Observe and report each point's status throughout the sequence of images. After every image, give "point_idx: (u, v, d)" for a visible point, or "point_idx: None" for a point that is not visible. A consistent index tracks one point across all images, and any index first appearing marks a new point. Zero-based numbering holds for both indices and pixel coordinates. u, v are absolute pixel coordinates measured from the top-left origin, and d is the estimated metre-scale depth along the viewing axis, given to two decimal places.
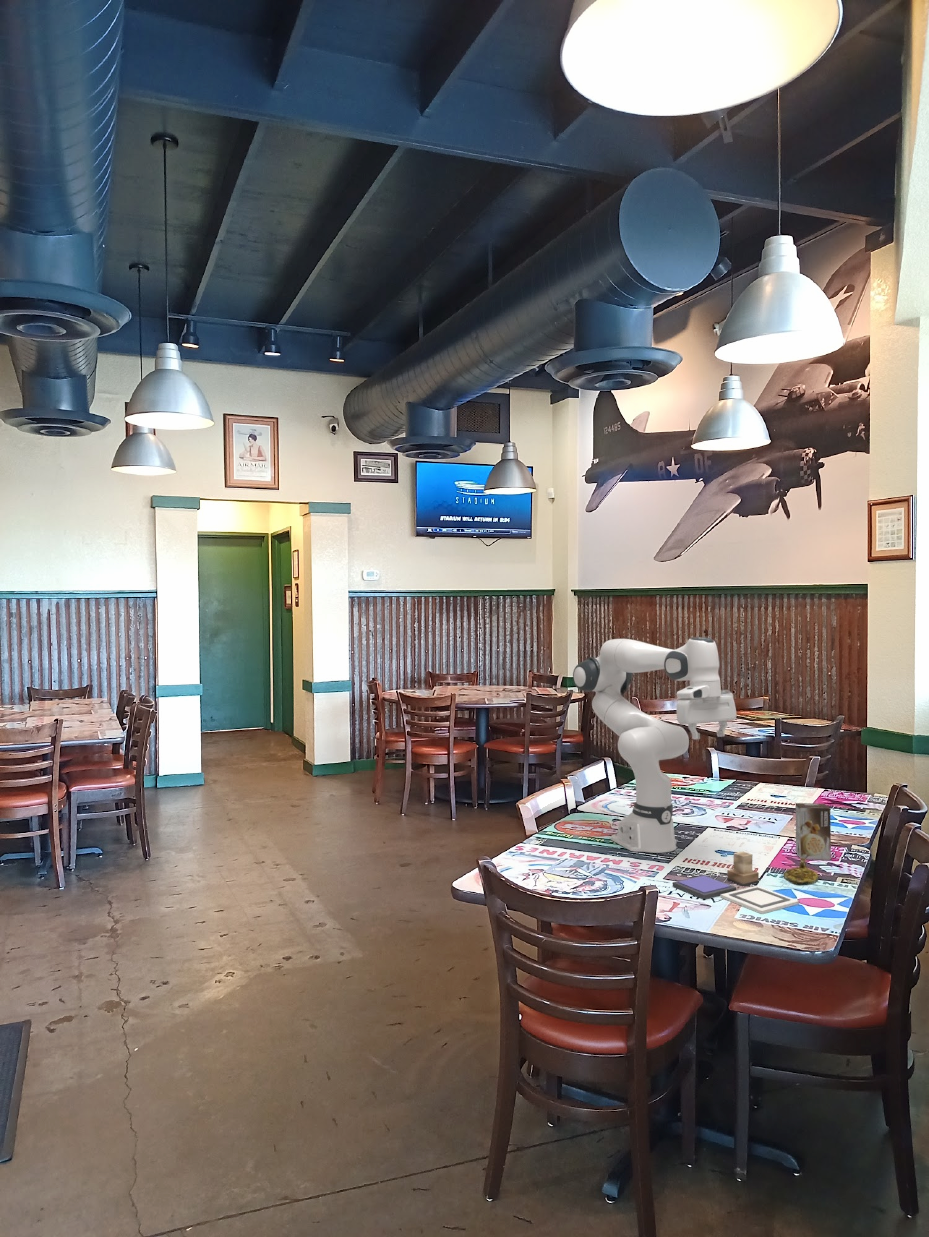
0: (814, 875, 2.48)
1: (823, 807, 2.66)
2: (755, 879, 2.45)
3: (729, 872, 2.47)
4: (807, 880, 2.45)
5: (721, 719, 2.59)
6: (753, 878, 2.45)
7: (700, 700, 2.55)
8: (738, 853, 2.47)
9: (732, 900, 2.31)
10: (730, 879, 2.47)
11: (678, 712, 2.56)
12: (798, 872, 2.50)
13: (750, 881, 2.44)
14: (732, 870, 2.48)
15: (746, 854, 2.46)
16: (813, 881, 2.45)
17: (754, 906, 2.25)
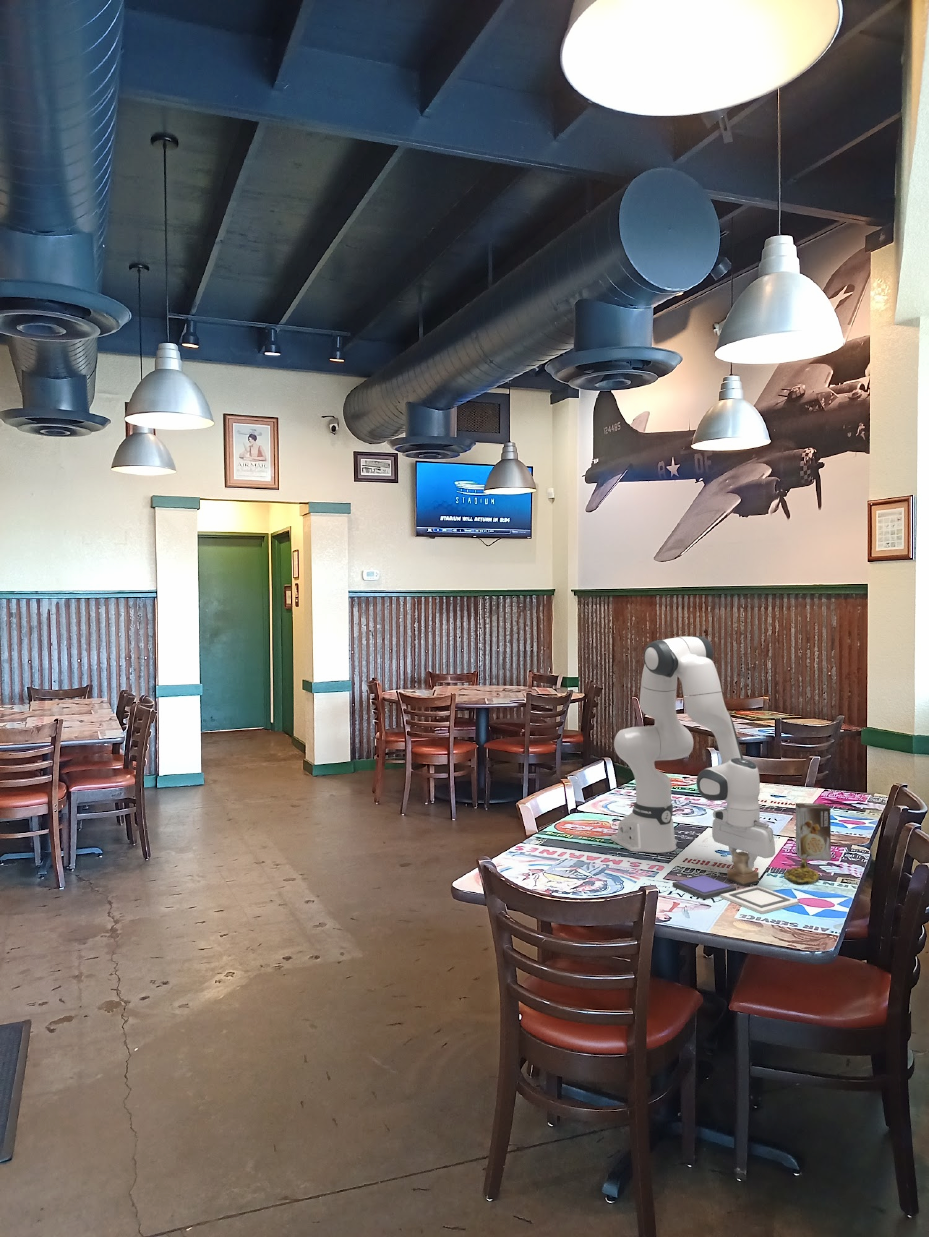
0: (815, 875, 2.48)
1: (823, 807, 2.66)
2: (755, 879, 2.45)
3: (729, 872, 2.47)
4: (807, 879, 2.45)
5: (748, 851, 2.42)
6: (753, 878, 2.45)
7: (723, 823, 2.49)
8: (738, 853, 2.47)
9: (732, 900, 2.31)
10: (730, 879, 2.47)
11: None
12: (799, 872, 2.50)
13: (750, 881, 2.44)
14: (732, 870, 2.48)
15: (746, 854, 2.46)
16: (813, 881, 2.45)
17: (754, 906, 2.25)
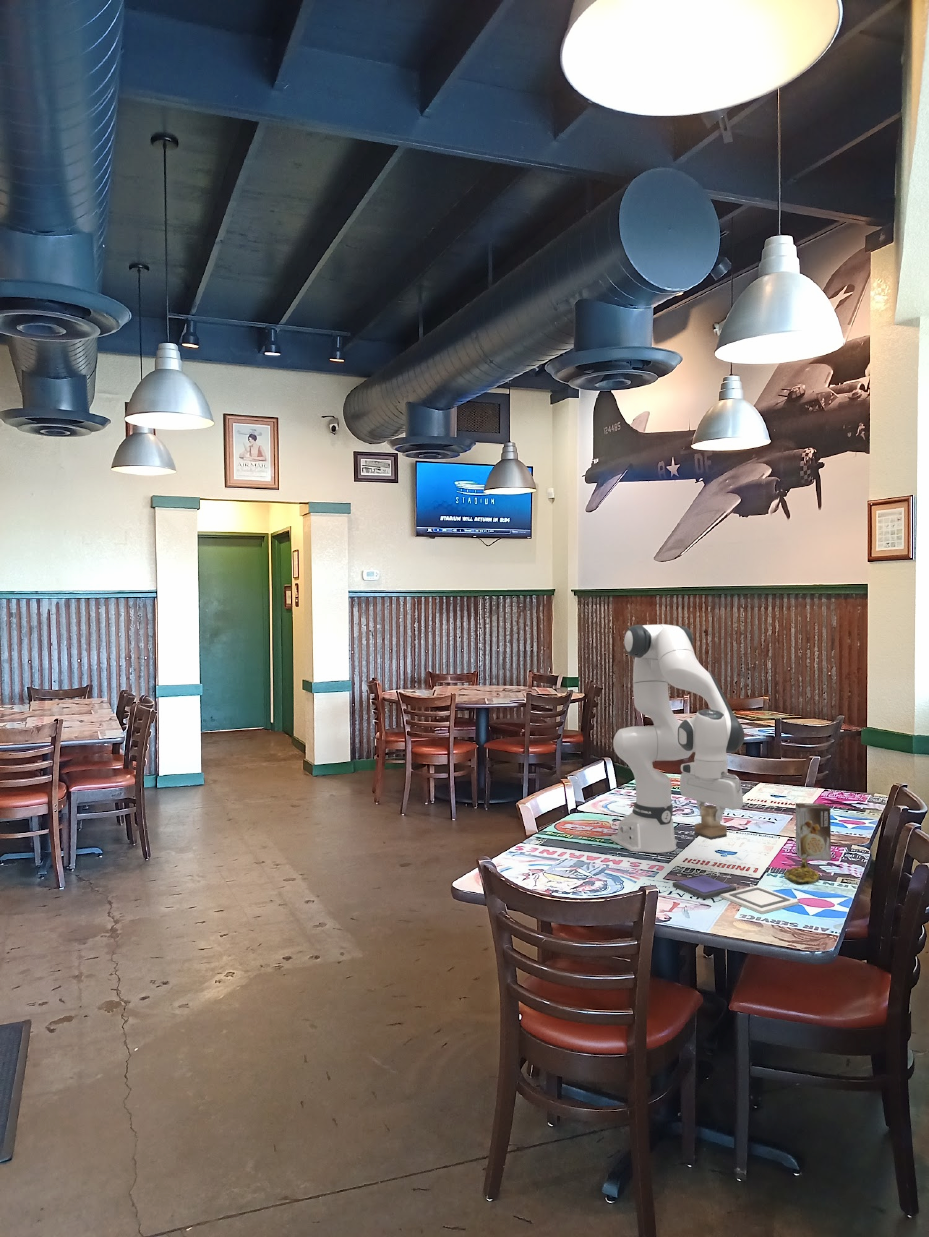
0: (815, 875, 2.48)
1: (823, 807, 2.66)
2: (723, 832, 2.39)
3: (697, 826, 2.41)
4: (808, 879, 2.46)
5: (716, 803, 2.37)
6: (720, 831, 2.39)
7: (691, 776, 2.43)
8: (706, 806, 2.41)
9: (732, 900, 2.31)
10: (698, 833, 2.41)
11: None
12: (799, 871, 2.50)
13: (718, 834, 2.38)
14: (700, 824, 2.42)
15: (714, 807, 2.40)
16: (814, 881, 2.45)
17: (754, 906, 2.25)
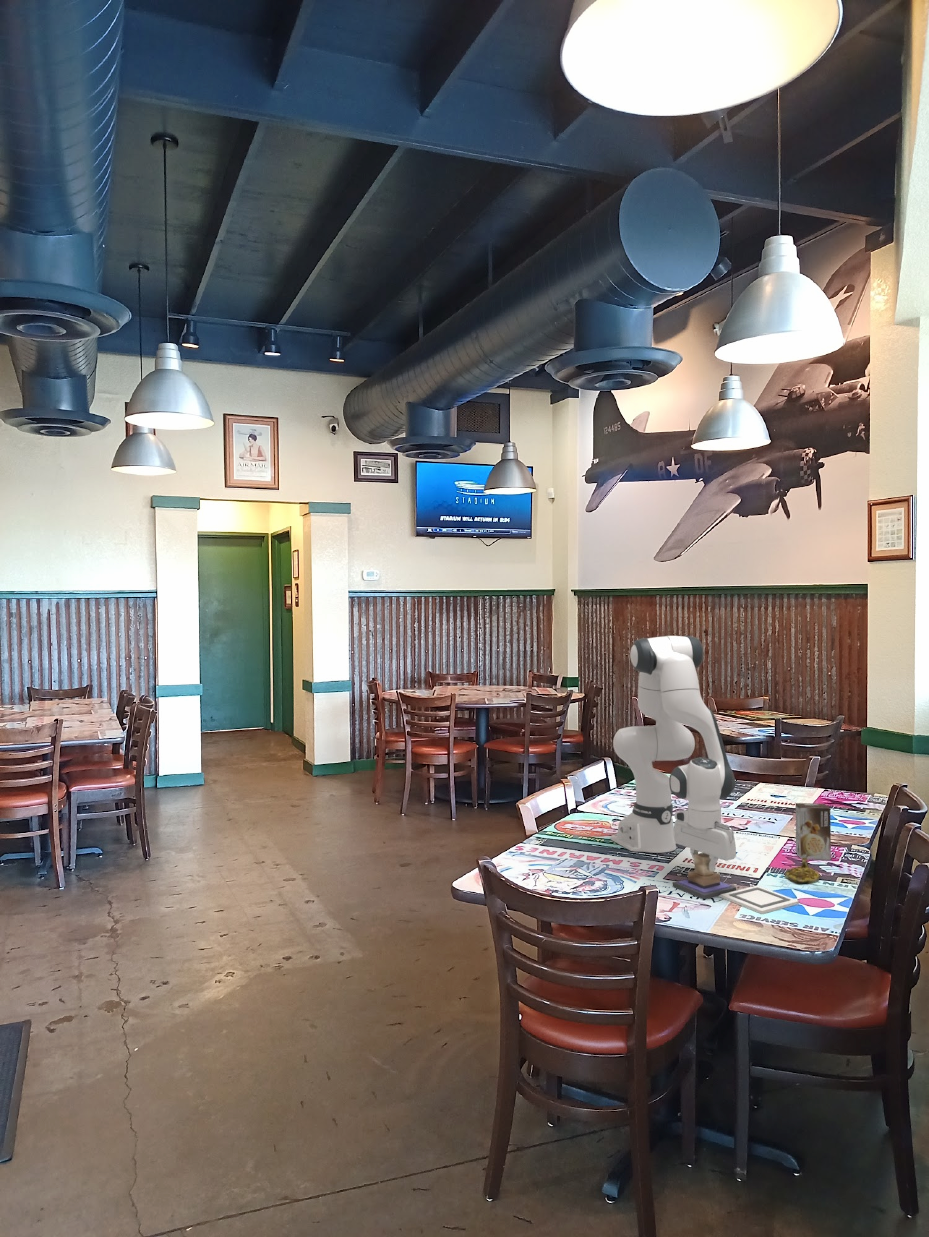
0: (815, 875, 2.49)
1: (823, 807, 2.66)
2: (716, 881, 2.39)
3: (690, 874, 2.41)
4: (808, 879, 2.46)
5: (709, 853, 2.36)
6: (714, 880, 2.38)
7: (684, 824, 2.43)
8: (699, 854, 2.41)
9: (732, 900, 2.31)
10: (691, 881, 2.41)
11: None
12: (800, 871, 2.51)
13: (711, 883, 2.38)
14: (693, 872, 2.41)
15: (707, 855, 2.40)
16: (814, 880, 2.45)
17: (754, 906, 2.25)
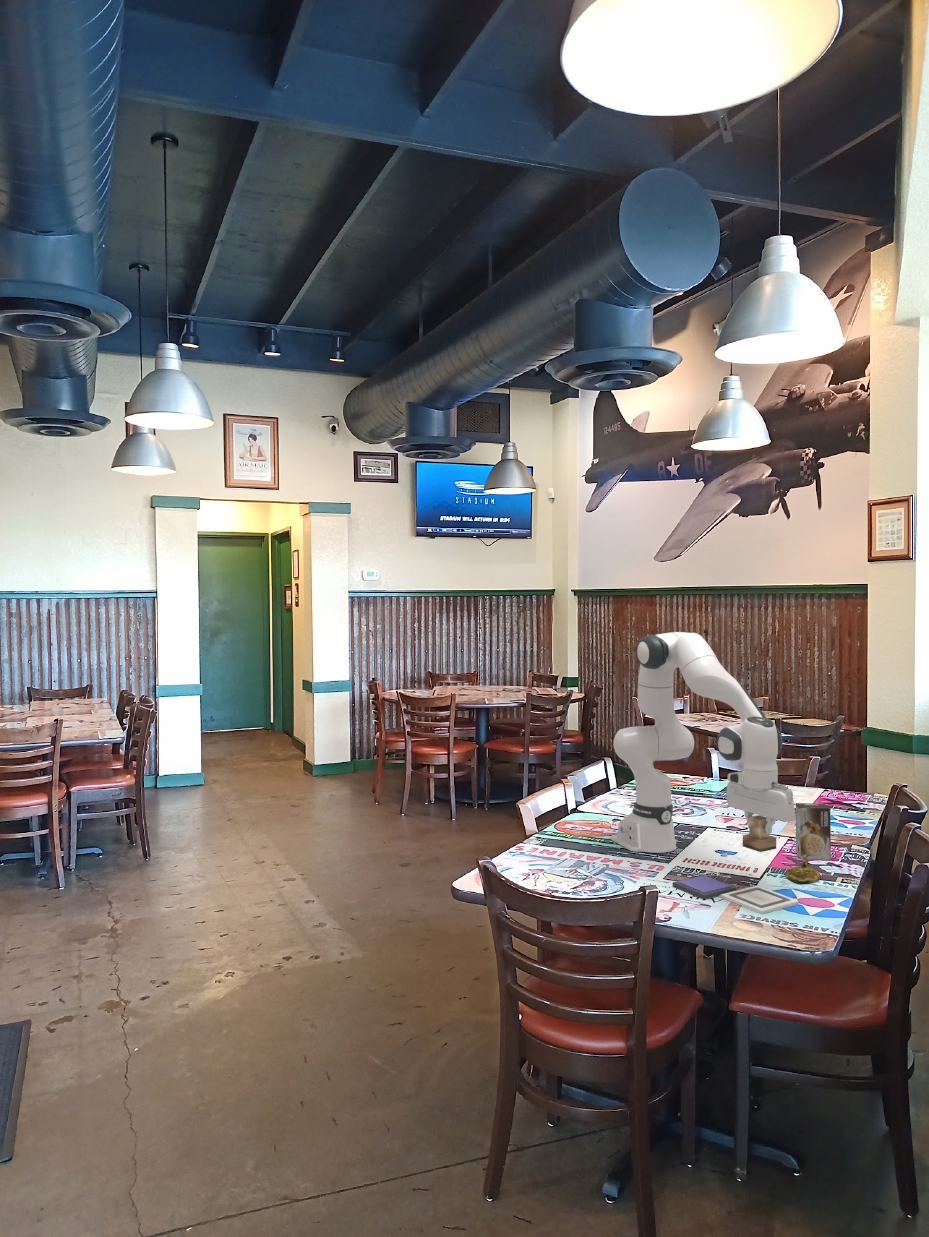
0: (816, 874, 2.49)
1: (823, 807, 2.66)
2: (773, 844, 2.29)
3: (745, 837, 2.31)
4: (808, 879, 2.46)
5: (766, 815, 2.27)
6: (770, 843, 2.29)
7: (739, 786, 2.33)
8: (754, 817, 2.32)
9: (732, 900, 2.31)
10: (746, 845, 2.31)
11: None
12: (800, 871, 2.51)
13: (767, 846, 2.28)
14: (748, 835, 2.32)
15: (763, 818, 2.30)
16: (814, 880, 2.46)
17: (754, 906, 2.25)
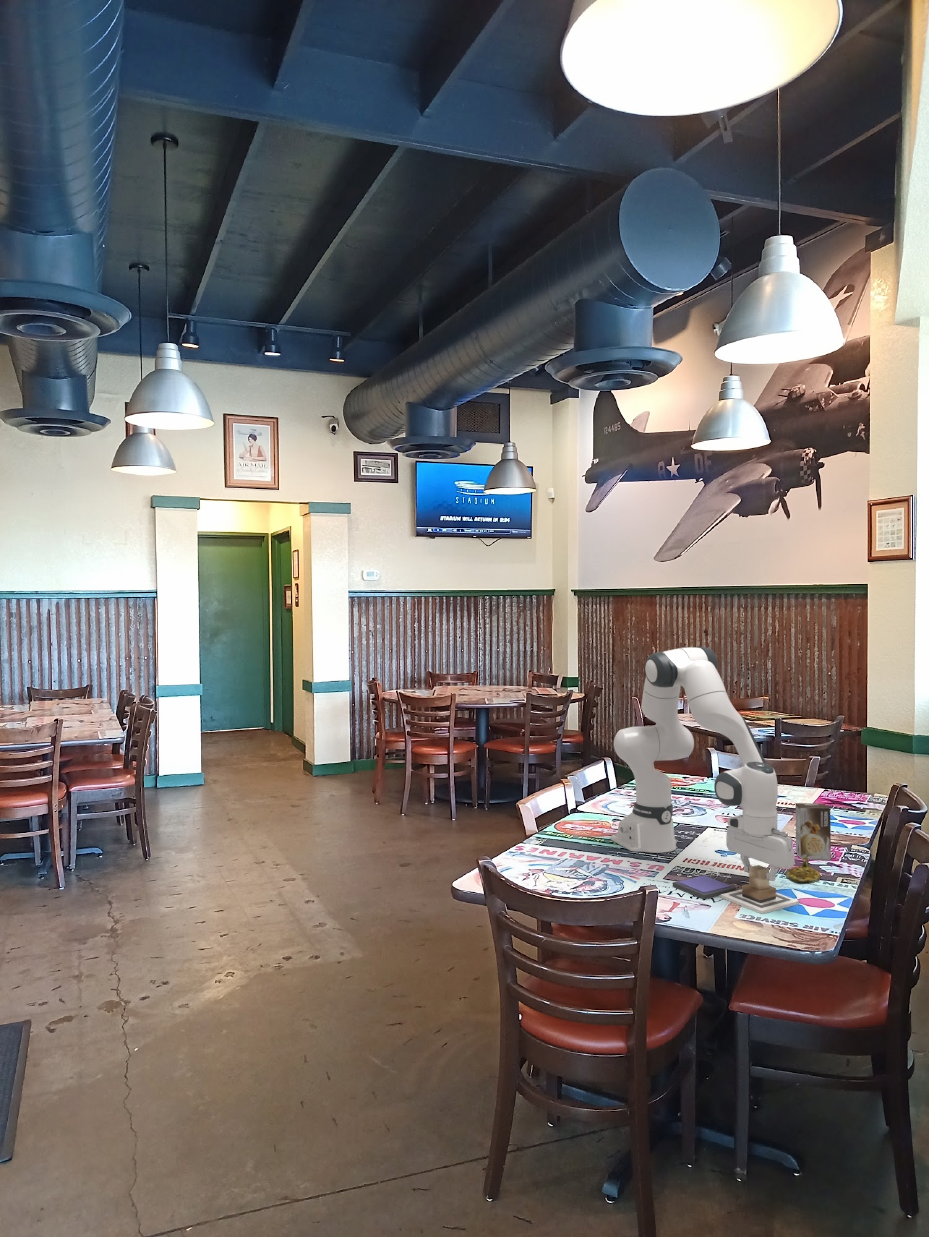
0: (816, 874, 2.49)
1: (823, 807, 2.66)
2: (772, 895, 2.30)
3: (744, 887, 2.32)
4: (808, 878, 2.46)
5: (766, 861, 2.27)
6: (770, 894, 2.29)
7: (738, 831, 2.34)
8: (754, 867, 2.32)
9: (732, 900, 2.31)
10: (745, 895, 2.32)
11: None
12: (800, 871, 2.51)
13: (767, 897, 2.29)
14: (747, 885, 2.32)
15: (762, 868, 2.31)
16: (814, 880, 2.46)
17: (754, 906, 2.25)
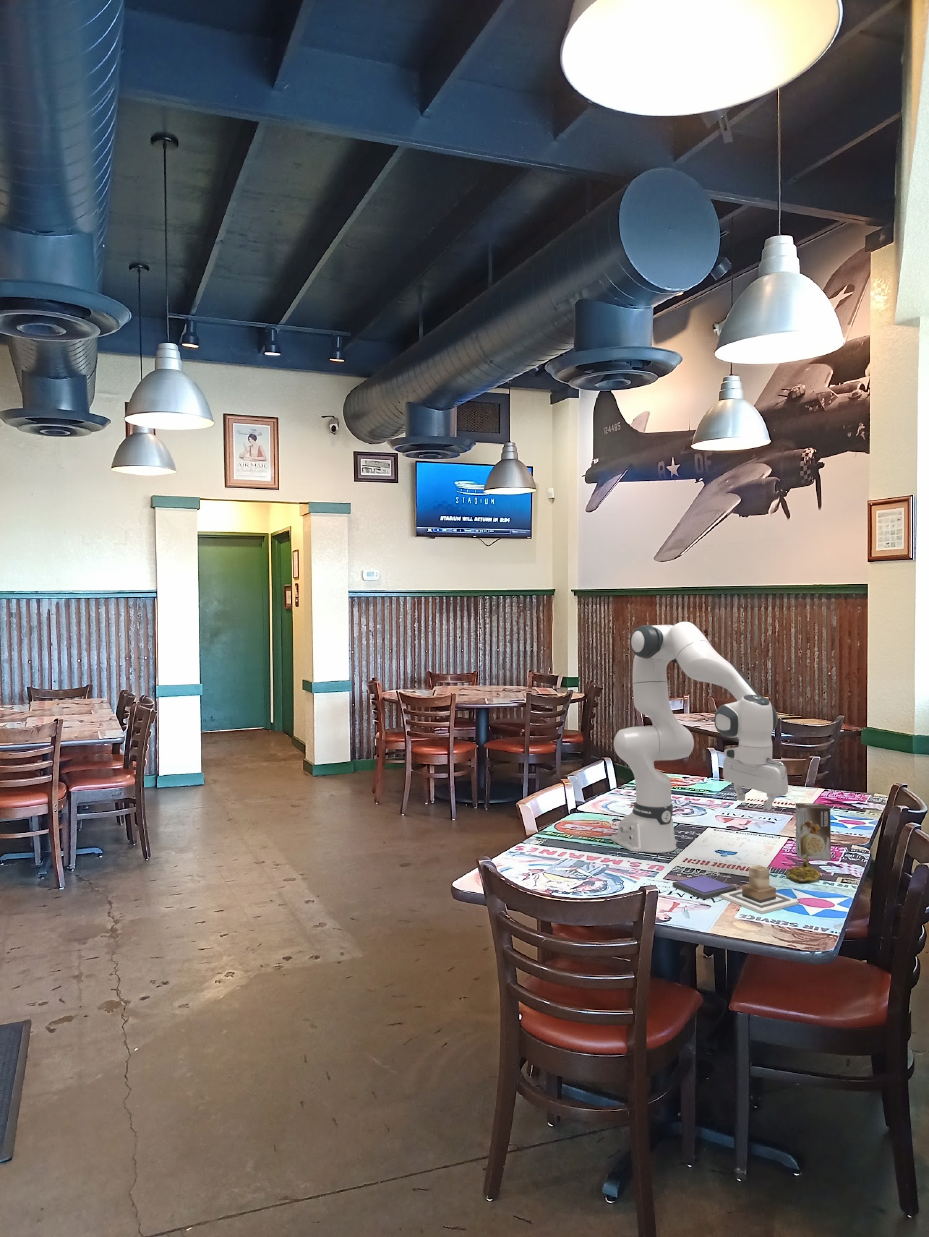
0: (816, 874, 2.49)
1: (823, 807, 2.66)
2: (772, 895, 2.30)
3: (744, 887, 2.32)
4: (809, 878, 2.46)
5: (760, 789, 2.36)
6: (770, 894, 2.29)
7: (735, 761, 2.42)
8: (754, 867, 2.32)
9: (732, 900, 2.31)
10: (745, 895, 2.32)
11: None
12: (801, 871, 2.51)
13: (767, 897, 2.29)
14: (747, 885, 2.32)
15: (762, 868, 2.31)
16: (815, 880, 2.46)
17: (754, 906, 2.25)
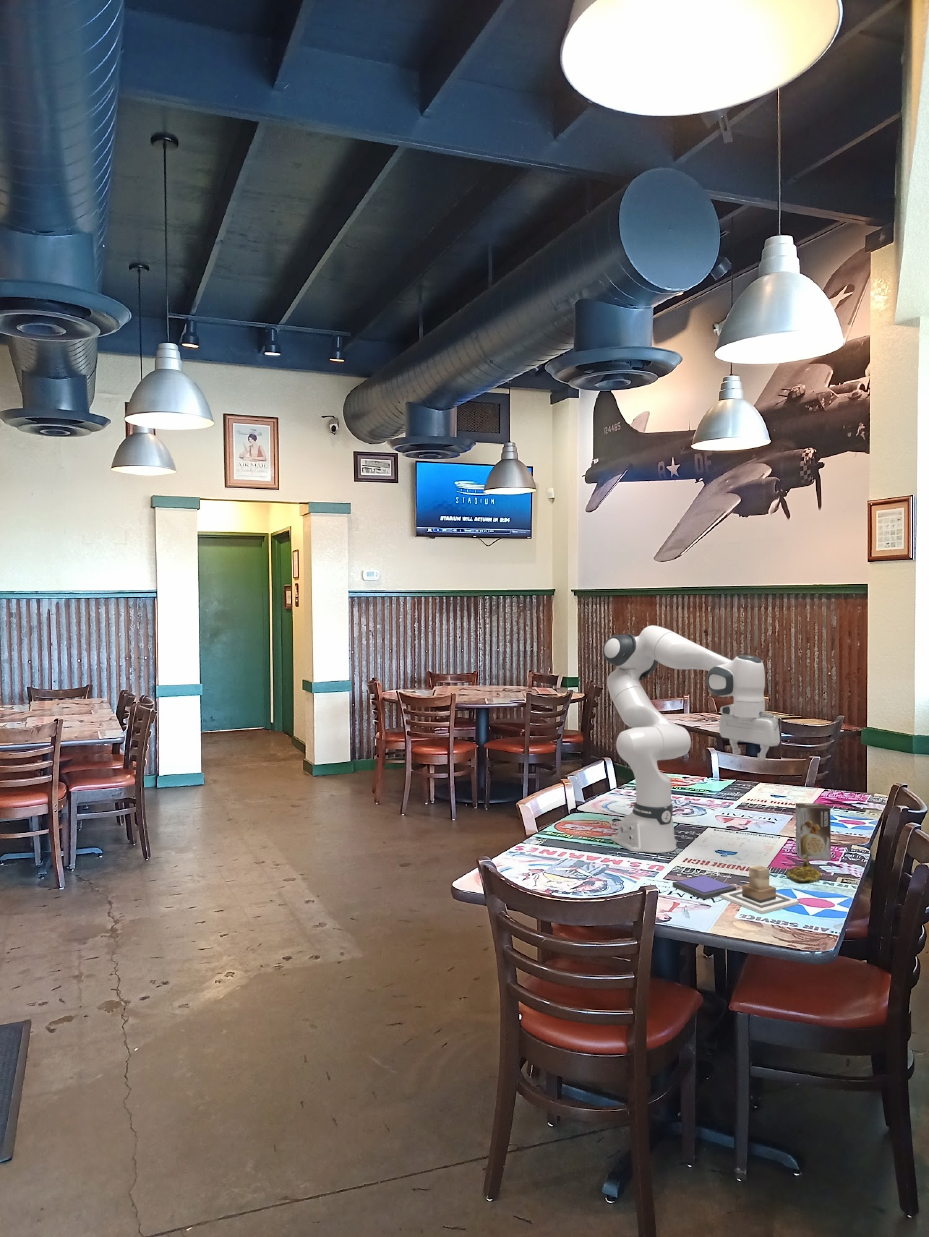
0: (816, 874, 2.49)
1: (823, 807, 2.66)
2: (772, 895, 2.30)
3: (744, 887, 2.32)
4: (809, 878, 2.46)
5: (754, 741, 2.54)
6: (770, 894, 2.29)
7: (730, 717, 2.60)
8: (754, 867, 2.32)
9: (732, 900, 2.31)
10: (745, 895, 2.32)
11: None
12: (801, 870, 2.51)
13: (767, 897, 2.29)
14: (747, 885, 2.32)
15: (762, 868, 2.31)
16: (815, 880, 2.46)
17: (754, 906, 2.25)
